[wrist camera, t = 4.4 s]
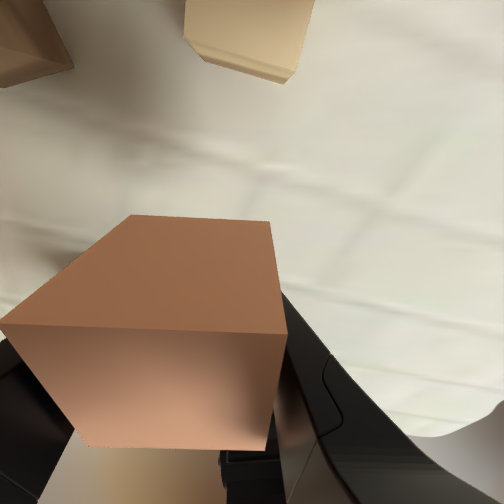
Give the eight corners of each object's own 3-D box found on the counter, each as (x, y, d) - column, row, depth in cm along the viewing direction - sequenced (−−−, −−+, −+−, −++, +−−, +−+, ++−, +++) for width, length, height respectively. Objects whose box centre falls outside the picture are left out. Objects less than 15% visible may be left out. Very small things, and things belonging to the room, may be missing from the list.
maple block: (283, 84, 14) (295, 71, 10) (204, 61, 14) (183, 36, 10) (311, -30, 12) (344, -112, 8) (217, -65, 11) (196, -173, 7)
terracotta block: (259, 318, 11) (264, 451, 7) (154, 314, 11) (88, 446, 6) (269, 221, 8) (287, 334, 4) (131, 214, 8) (-6, 323, 4)
